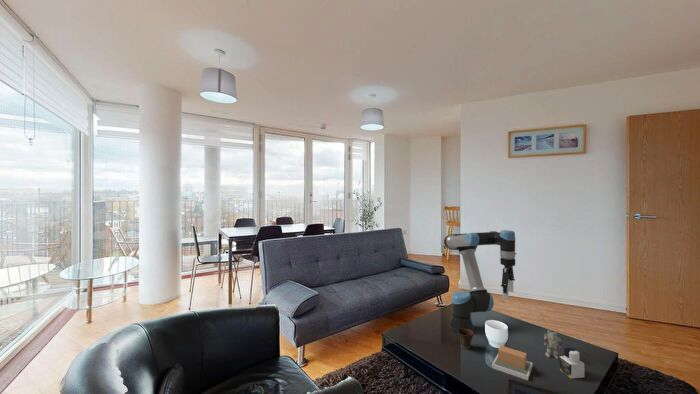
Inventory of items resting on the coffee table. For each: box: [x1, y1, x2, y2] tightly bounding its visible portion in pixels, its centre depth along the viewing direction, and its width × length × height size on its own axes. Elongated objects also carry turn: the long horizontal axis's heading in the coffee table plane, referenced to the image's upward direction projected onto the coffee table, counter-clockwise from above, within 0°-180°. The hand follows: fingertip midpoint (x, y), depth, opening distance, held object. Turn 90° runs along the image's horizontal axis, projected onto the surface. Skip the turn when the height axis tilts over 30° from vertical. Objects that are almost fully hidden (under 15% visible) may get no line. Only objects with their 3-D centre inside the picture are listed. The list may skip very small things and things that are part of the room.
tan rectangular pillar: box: [497, 345, 528, 370], centre depth 150 cm, size 12×6×6 cm, turn 49°
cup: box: [457, 328, 475, 350], centre depth 170 cm, size 9×9×10 cm
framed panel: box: [491, 353, 534, 381], centre depth 150 cm, size 16×14×2 cm
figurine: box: [543, 329, 562, 360], centre depth 158 cm, size 8×8×15 cm
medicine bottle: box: [559, 347, 585, 379], centre depth 144 cm, size 7×7×12 cm
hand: (508, 294), depth 166 cm, fingers open, 13 cm apart
